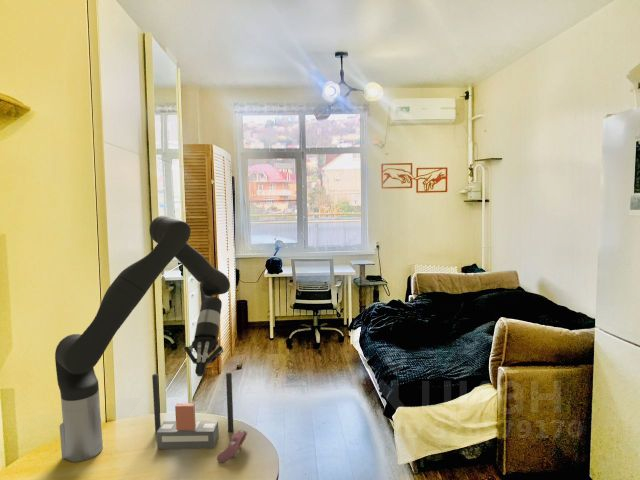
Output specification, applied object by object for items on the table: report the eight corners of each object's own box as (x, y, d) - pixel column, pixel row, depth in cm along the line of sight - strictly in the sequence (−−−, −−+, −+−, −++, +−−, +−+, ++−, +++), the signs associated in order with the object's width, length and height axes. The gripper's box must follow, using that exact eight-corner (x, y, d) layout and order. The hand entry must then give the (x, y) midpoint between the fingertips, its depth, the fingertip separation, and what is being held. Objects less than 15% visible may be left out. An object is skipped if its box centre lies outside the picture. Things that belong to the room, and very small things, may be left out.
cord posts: (154, 433, 132) (151, 376, 130) (156, 430, 133) (153, 373, 131) (232, 432, 132) (230, 374, 130) (233, 429, 133) (232, 372, 132)
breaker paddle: (176, 430, 123) (175, 406, 123) (178, 427, 125) (176, 403, 124) (194, 429, 123) (193, 406, 123) (195, 426, 125) (194, 403, 124)
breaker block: (157, 449, 123) (156, 432, 123) (164, 437, 130) (163, 421, 129) (213, 448, 124) (213, 431, 123) (218, 436, 130) (218, 420, 129)
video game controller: (229, 470, 116) (239, 449, 115) (214, 461, 117) (224, 440, 116) (242, 449, 126) (252, 429, 125) (229, 441, 126) (238, 421, 125)
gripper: (185, 321, 146) (175, 371, 135) (225, 320, 146) (218, 370, 135) (191, 331, 152) (181, 380, 141) (229, 331, 152) (222, 379, 141)
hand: (199, 375), depth 138 cm, fingers closed
